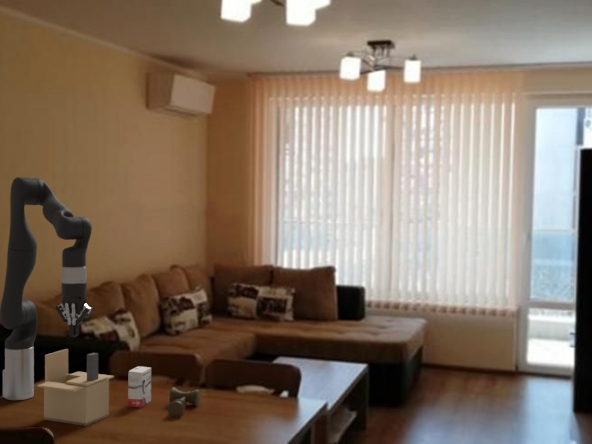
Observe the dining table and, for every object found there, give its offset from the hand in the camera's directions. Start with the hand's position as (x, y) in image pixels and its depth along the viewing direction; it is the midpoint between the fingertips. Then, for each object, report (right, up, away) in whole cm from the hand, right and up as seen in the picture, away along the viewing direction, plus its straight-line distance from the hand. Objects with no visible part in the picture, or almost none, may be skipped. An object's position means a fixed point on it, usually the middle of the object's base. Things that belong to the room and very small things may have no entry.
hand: (74, 336), depth 227 cm
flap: (+5, -14, -1) cm, 14 cm away
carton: (+1, -25, 0) cm, 25 cm away
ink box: (+17, -25, +16) cm, 35 cm away
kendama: (+32, -26, +12) cm, 43 cm away
